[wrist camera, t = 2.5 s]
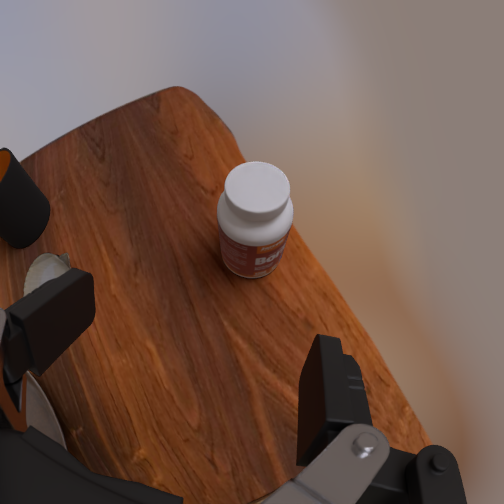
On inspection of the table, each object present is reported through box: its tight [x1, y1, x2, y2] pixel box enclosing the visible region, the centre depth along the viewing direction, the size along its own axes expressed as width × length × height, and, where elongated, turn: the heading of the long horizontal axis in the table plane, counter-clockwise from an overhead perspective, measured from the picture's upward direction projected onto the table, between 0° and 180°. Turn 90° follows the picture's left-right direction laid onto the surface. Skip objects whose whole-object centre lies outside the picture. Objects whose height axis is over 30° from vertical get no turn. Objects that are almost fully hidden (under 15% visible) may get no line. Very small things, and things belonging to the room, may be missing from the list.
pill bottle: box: [217, 162, 293, 278], centre depth 26 cm, size 6×6×11 cm
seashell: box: [24, 253, 72, 296], centre depth 26 cm, size 8×3×8 cm
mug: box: [0, 148, 50, 248], centre depth 27 cm, size 8×12×10 cm
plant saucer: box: [25, 371, 68, 451], centre depth 18 cm, size 21×21×3 cm
